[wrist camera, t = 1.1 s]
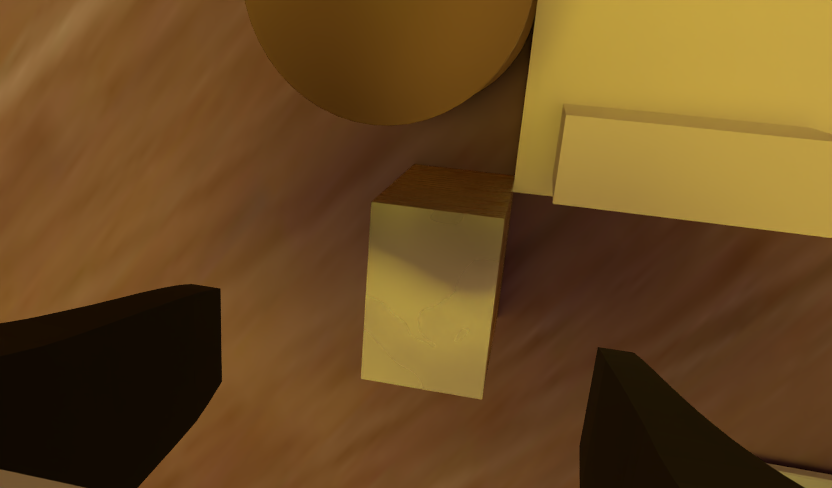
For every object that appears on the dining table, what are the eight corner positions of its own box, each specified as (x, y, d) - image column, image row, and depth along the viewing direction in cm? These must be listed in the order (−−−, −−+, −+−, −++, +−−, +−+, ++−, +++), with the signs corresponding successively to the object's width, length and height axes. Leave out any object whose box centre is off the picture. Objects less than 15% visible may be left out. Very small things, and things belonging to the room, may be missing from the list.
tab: (515, 175, 19) (504, 219, 14) (497, 316, 20) (481, 399, 15) (414, 163, 19) (371, 201, 15) (403, 302, 21) (360, 378, 16)
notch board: (931, -212, 14) (1066, -302, 11) (811, 219, 17) (882, 267, 14) (566, -218, 16) (573, -302, 12) (514, 184, 19) (506, 219, 15)
